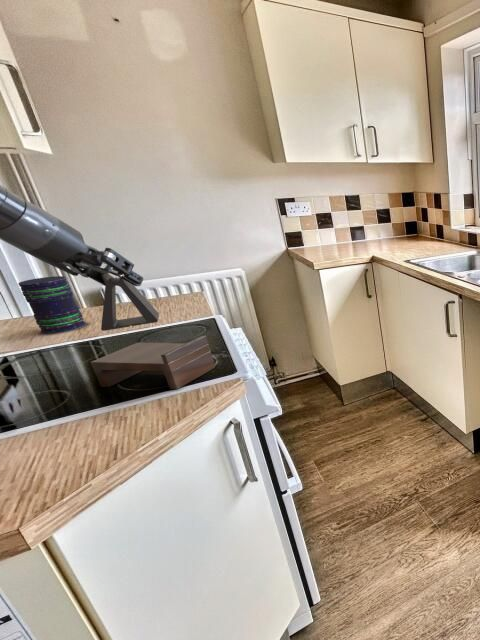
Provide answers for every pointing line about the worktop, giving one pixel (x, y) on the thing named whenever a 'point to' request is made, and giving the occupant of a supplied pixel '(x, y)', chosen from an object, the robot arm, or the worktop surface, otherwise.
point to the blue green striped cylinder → (52, 304)
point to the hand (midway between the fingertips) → (125, 282)
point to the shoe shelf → (157, 362)
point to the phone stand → (134, 295)
